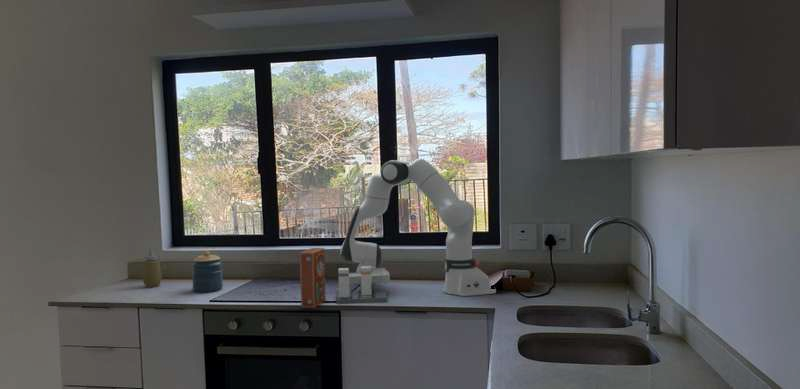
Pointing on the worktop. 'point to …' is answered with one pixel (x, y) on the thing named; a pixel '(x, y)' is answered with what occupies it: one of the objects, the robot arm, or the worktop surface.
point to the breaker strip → (355, 296)
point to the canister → (207, 273)
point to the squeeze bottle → (152, 271)
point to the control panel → (312, 277)
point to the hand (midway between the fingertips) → (366, 282)
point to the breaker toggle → (366, 280)
